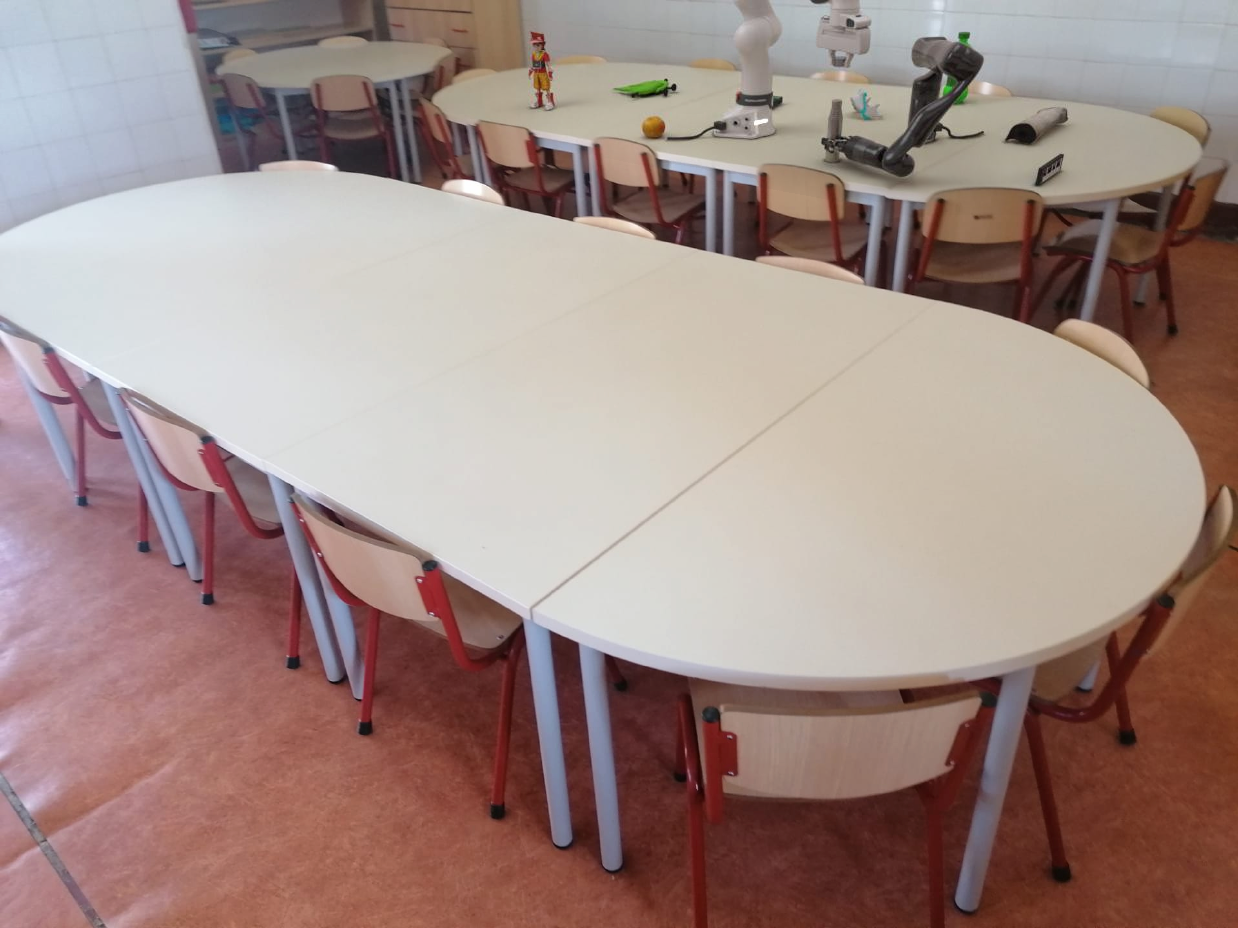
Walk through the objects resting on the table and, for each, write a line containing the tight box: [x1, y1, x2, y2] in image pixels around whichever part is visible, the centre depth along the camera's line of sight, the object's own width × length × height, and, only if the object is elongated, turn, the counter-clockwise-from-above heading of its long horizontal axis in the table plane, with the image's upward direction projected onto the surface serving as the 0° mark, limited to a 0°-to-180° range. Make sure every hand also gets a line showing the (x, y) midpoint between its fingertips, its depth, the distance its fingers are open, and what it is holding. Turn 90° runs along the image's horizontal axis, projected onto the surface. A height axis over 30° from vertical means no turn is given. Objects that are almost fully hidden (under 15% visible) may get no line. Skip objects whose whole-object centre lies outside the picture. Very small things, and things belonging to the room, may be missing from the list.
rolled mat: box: [1004, 106, 1069, 145], centre depth 312 cm, size 30×9×10 cm
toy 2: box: [612, 78, 677, 99], centre depth 396 cm, size 28×5×30 cm
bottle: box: [824, 98, 844, 163], centre depth 296 cm, size 5×5×19 cm
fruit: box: [641, 115, 666, 138], centre depth 334 cm, size 8×8×8 cm
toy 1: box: [527, 31, 556, 111], centre depth 374 cm, size 12×9×30 cm
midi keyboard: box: [1035, 153, 1065, 186], centre depth 273 cm, size 18×1×5 cm, turn 138°
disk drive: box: [772, 95, 784, 109], centre depth 364 cm, size 10×3×15 cm
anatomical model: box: [850, 88, 885, 120], centre depth 343 cm, size 15×10×10 cm
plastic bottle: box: [942, 31, 974, 104], centre depth 348 cm, size 10×10×25 cm
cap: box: [832, 55, 847, 68], centre depth 283 cm, size 4×4×2 cm
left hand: (840, 66), depth 284 cm, fingers closed on cap, 4 cm apart
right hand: (828, 139), depth 299 cm, fingers closed on bottle, 4 cm apart
